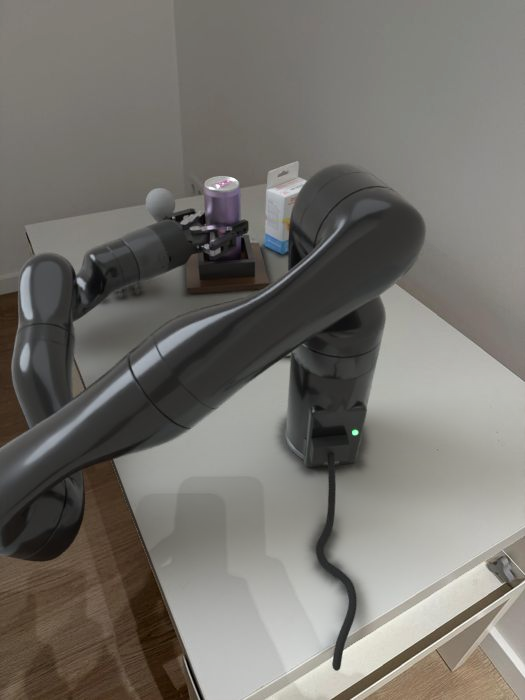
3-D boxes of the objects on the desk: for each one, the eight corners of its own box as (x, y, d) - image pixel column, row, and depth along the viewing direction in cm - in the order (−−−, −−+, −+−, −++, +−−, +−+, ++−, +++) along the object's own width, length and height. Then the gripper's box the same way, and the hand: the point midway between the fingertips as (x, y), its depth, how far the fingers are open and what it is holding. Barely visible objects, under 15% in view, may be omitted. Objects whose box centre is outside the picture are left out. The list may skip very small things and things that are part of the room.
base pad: (269, 288, 89) (269, 267, 86) (187, 294, 87) (185, 273, 85) (258, 247, 99) (259, 228, 97) (185, 252, 98) (183, 232, 95)
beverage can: (248, 263, 93) (247, 182, 83) (224, 276, 89) (221, 194, 80) (225, 251, 96) (222, 172, 86) (201, 263, 92) (195, 182, 83)
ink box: (282, 256, 97) (285, 180, 87) (264, 246, 100) (265, 171, 90) (312, 241, 102) (318, 167, 92) (294, 232, 104) (298, 159, 95)
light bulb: (176, 244, 100) (171, 195, 93) (148, 244, 100) (141, 195, 93) (180, 231, 104) (175, 183, 97) (153, 230, 104) (146, 183, 97)
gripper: (130, 254, 86) (209, 223, 95) (181, 291, 78) (262, 253, 87) (123, 212, 81) (207, 184, 90) (176, 247, 73) (263, 212, 82)
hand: (234, 218), depth 89 cm, fingers closed on beverage can, 6 cm apart
